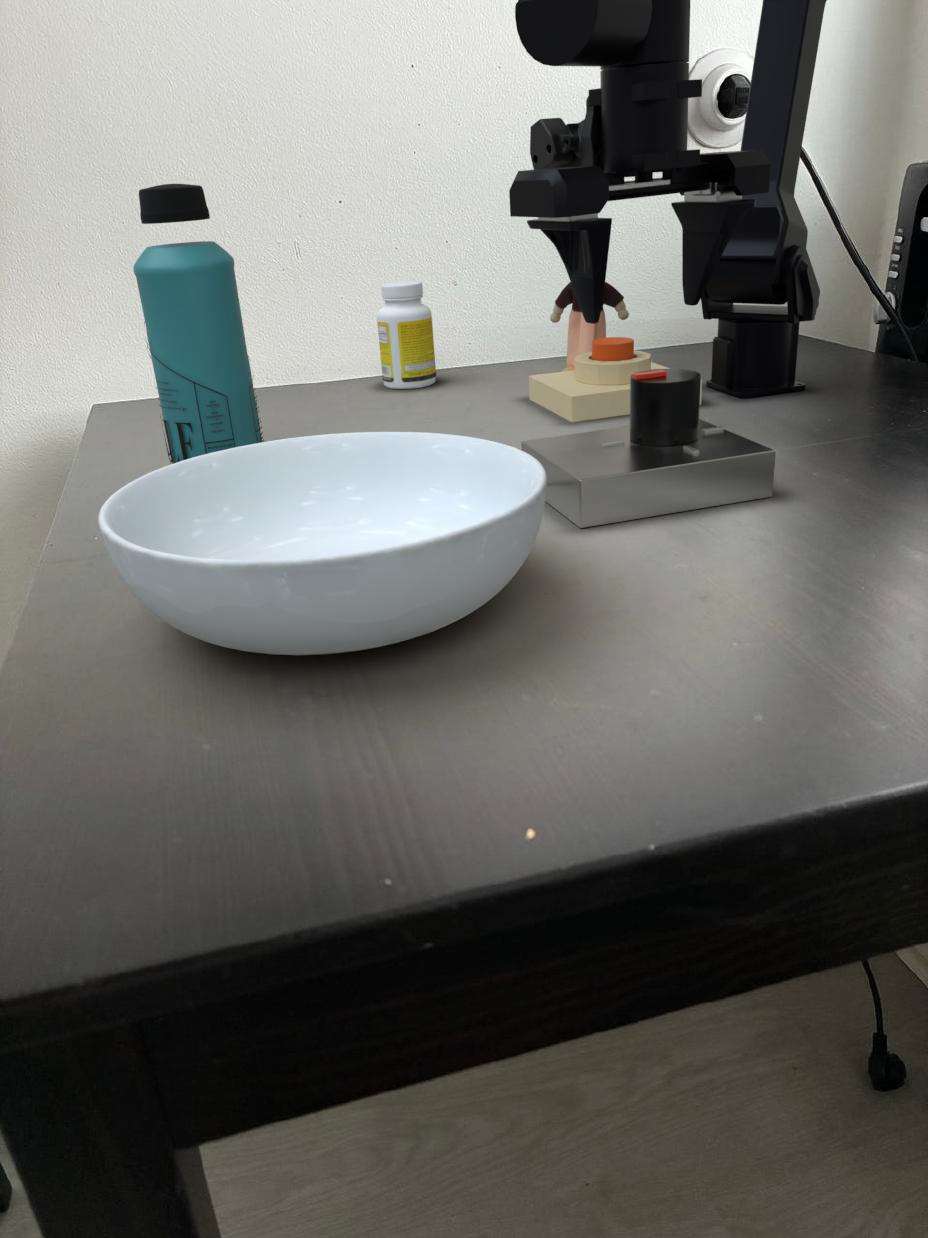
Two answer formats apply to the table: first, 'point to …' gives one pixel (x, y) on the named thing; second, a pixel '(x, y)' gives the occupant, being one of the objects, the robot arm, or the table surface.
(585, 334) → the grandmother figurine
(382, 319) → the supplement bottle
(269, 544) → the serving bowl
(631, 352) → the power button
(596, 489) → the dial panel
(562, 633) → the table surface
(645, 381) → the brew dial
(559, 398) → the coffee base
